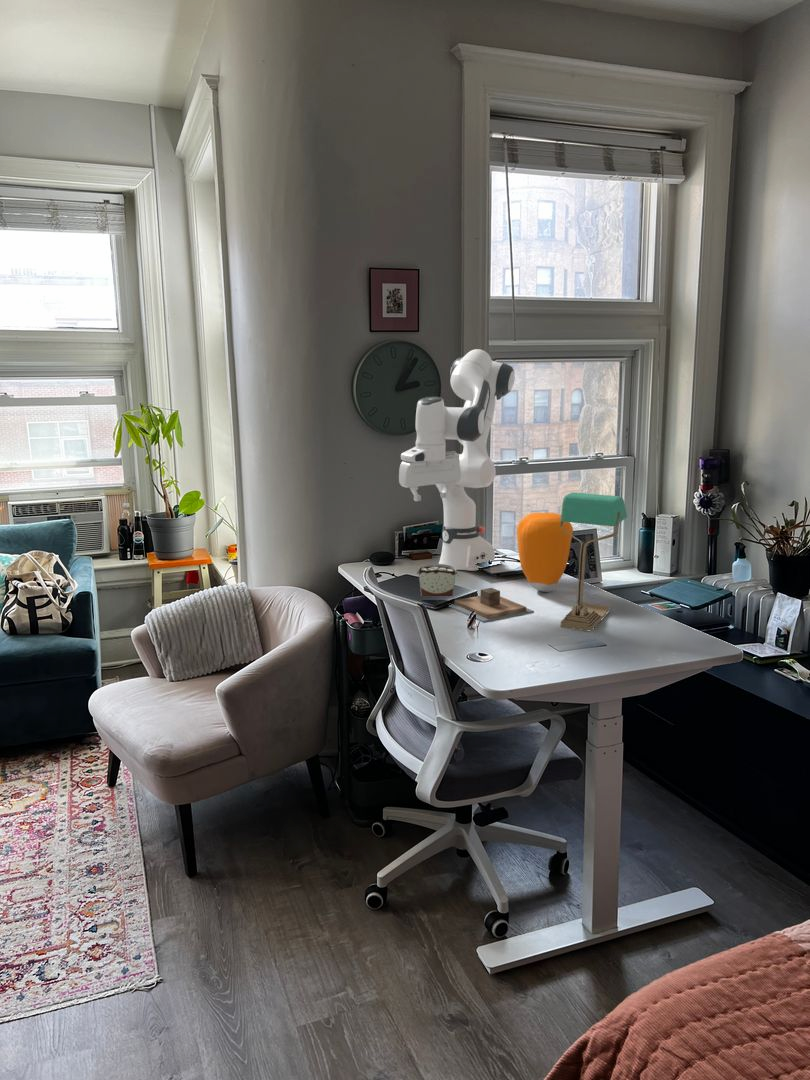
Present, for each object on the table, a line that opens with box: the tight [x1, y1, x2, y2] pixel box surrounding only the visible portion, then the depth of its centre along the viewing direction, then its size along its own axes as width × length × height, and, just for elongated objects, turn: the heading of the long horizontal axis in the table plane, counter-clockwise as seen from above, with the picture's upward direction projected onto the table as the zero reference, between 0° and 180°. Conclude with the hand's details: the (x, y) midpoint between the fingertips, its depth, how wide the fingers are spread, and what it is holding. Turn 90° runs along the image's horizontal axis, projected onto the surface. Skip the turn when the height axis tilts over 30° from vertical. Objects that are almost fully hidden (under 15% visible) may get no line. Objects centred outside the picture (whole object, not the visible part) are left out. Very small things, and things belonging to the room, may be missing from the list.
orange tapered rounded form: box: [516, 512, 574, 593], centre depth 252 cm, size 17×17×25 cm
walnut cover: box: [454, 587, 527, 619], centre depth 236 cm, size 14×16×5 cm
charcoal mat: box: [448, 602, 535, 623], centre depth 237 cm, size 18×18×1 cm
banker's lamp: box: [560, 492, 628, 632], centre depth 225 cm, size 16×21×35 cm
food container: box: [416, 563, 459, 597], centre depth 247 cm, size 12×6×10 cm, turn 84°
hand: (430, 499), depth 243 cm, fingers open, 8 cm apart
